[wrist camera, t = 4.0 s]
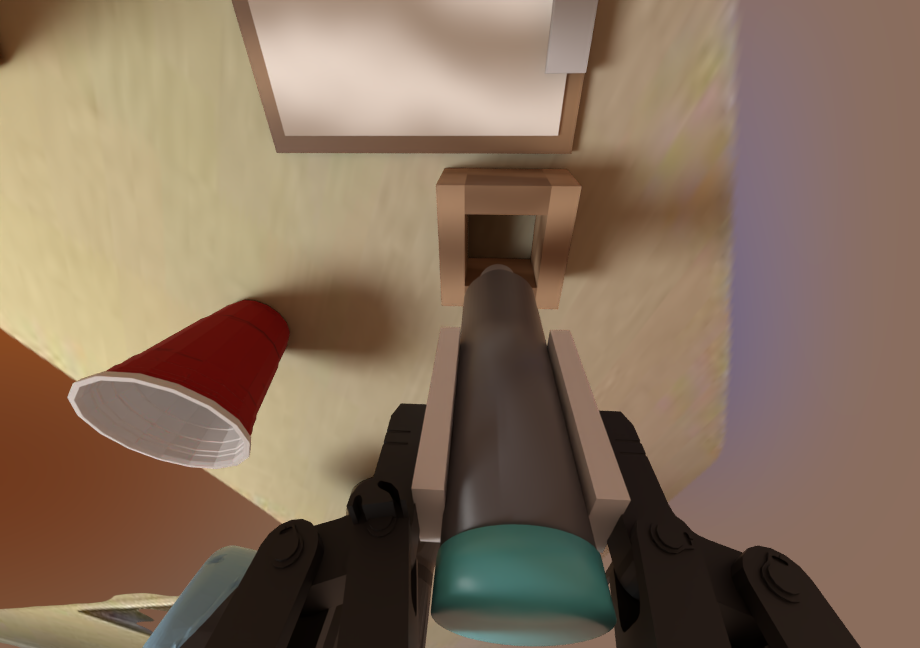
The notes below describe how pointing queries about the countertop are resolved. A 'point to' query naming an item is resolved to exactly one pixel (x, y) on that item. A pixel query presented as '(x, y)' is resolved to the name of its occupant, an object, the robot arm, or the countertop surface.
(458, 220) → the stand
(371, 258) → the countertop surface
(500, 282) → the marker
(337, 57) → the clipboard
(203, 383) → the plastic cup
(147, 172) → the countertop surface
